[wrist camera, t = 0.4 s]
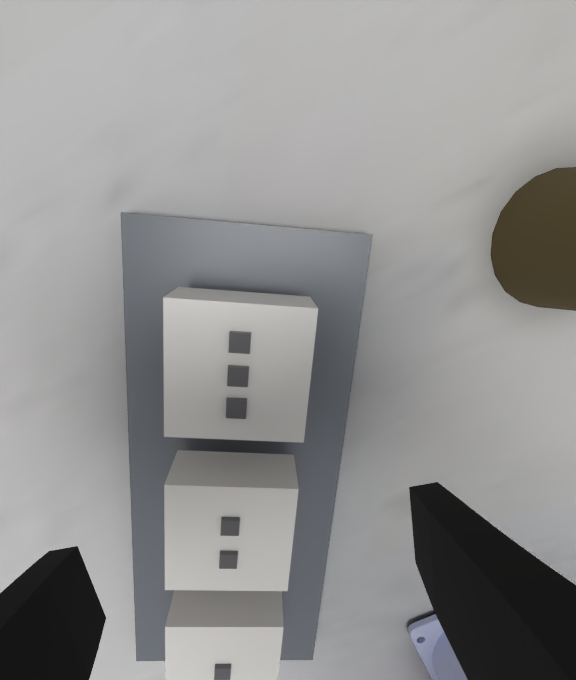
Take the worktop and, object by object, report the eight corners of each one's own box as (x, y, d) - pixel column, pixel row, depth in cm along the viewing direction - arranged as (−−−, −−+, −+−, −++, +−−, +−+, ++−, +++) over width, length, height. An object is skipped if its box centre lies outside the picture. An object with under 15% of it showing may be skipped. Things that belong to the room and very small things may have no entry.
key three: (298, 413, 16) (304, 445, 14) (177, 407, 16) (162, 439, 13) (310, 296, 15) (319, 309, 12) (178, 286, 14) (161, 298, 12)
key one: (273, 654, 20) (275, 712, 18) (176, 655, 20) (164, 714, 17) (281, 579, 19) (283, 631, 16) (177, 578, 18) (163, 631, 16)
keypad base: (310, 645, 23) (316, 689, 21) (140, 645, 22) (127, 692, 20) (367, 234, 16) (383, 235, 14) (127, 212, 16) (105, 210, 13)
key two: (284, 546, 18) (288, 595, 16) (177, 544, 18) (163, 594, 15) (293, 454, 17) (299, 492, 14) (177, 450, 16) (162, 488, 14)
